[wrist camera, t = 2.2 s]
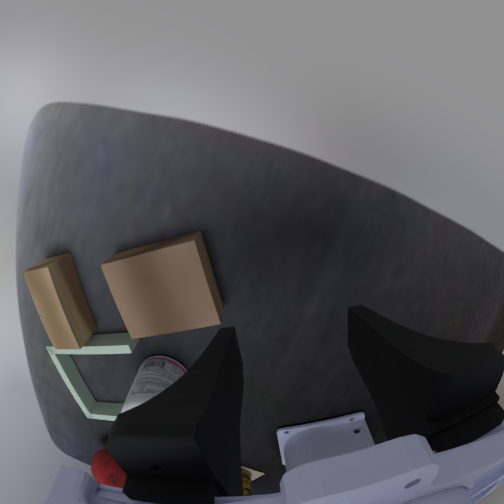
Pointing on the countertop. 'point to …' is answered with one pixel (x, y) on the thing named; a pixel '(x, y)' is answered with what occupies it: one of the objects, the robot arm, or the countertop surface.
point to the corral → (75, 382)
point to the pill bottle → (153, 380)
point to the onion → (107, 470)
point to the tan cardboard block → (165, 286)
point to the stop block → (61, 301)
